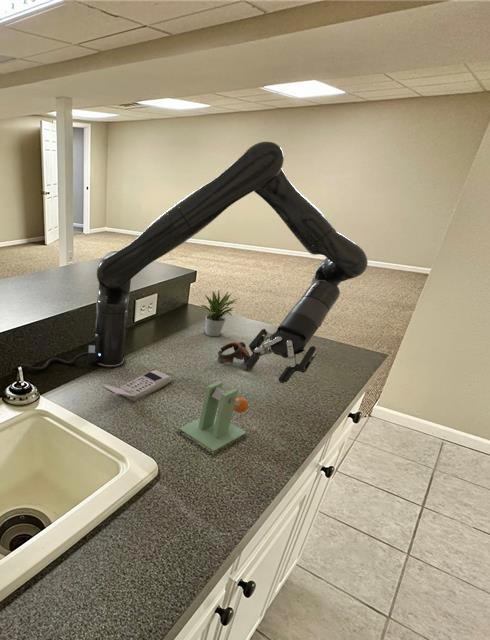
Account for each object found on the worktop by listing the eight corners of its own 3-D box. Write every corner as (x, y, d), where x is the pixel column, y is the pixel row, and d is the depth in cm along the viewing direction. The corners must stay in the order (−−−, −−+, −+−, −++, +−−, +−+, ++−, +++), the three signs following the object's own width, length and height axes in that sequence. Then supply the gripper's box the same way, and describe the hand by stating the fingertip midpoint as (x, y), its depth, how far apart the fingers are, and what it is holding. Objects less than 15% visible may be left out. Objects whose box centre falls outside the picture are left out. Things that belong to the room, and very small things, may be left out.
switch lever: (233, 409, 99) (240, 396, 99) (245, 416, 97) (253, 403, 96) (207, 397, 89) (215, 383, 89) (220, 404, 87) (229, 389, 86)
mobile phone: (100, 384, 102) (161, 356, 117) (98, 403, 105) (158, 374, 120) (117, 394, 98) (178, 364, 113) (115, 414, 101) (175, 382, 116)
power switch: (210, 417, 101) (220, 372, 95) (245, 437, 94) (258, 390, 88) (178, 433, 95) (186, 386, 88) (212, 455, 88) (224, 406, 81)
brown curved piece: (250, 376, 121) (241, 354, 118) (219, 380, 128) (210, 359, 124) (258, 353, 129) (250, 332, 125) (229, 357, 135) (221, 337, 132)
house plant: (226, 346, 140) (236, 300, 132) (188, 336, 146) (195, 292, 138) (237, 333, 150) (247, 290, 142) (200, 325, 157) (208, 283, 149)
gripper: (272, 303, 100) (234, 356, 99) (331, 321, 90) (289, 379, 89) (278, 320, 105) (242, 370, 105) (334, 338, 95) (295, 393, 95)
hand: (264, 374), depth 97 cm, fingers open, 8 cm apart
